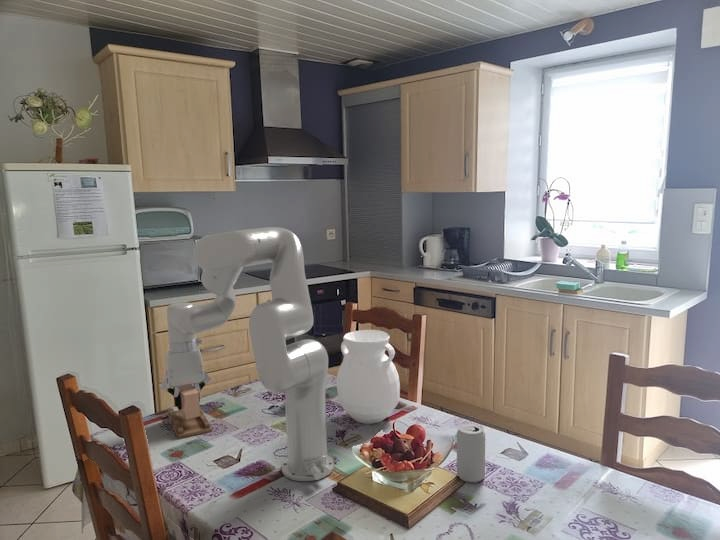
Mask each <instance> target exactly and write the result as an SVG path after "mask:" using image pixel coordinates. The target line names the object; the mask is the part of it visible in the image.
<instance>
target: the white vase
mask: <svg viewBox="0 0 720 540" xmlns="http://www.w3.org/2000/svg"><path fill="white" fill-rule="evenodd" d="M342 339H343V341H342V342H341V345H340V350H341V352H342V353H341V354H342V355H343V360H342V362H341V363H340V366H339V367H338V370H337V375H336V390H337V397H338V399H339V402H340V405H341V408H342V409H343V410H344V412H346V414H347V415H349V416H350V417H351V418H352V419H353V420H355V421H356V422H357V423H360V424H367V425H369V424H370V425H372V424H377V423H380V422H382V421H384V420H385V419H386V418H387V417H389V415H391V413H393V411H394V410H395V408H396V407H397V406H398V404H399V401H400V397H401V396H400V395H401V393H400V392H401V384H400V383H401V382H400V376H399V373H398V370H397V368H396V365H395V363H394V362H393V359H394V357H395V354H396V351H395V348H394V347H393V346H392V345H391V344H390V343H389V341H390V335H389V333H387V332H386V331H383V330H381V329H380V330H379V329H362V330H361V329H359V330H355V331H354V330H353V331H351V332H347V333H345V334H344V336H343V337H342ZM386 351H387V353H388V355H387V354H386Z"/></svg>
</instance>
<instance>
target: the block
mask: <svg viewBox="0 0 720 540" xmlns="http://www.w3.org/2000/svg"><path fill="white" fill-rule="evenodd" d="M199 394H200V393H199V392H198V391H197V390H196V389H195V388H194V385H193V384H190V385H185V386H180V388H179V395H180V397H181V410H180V412H181V413H182V414H183V416H184V417H185V419H190V418H194V417H199V416H200V409H201V406H200V404H201V403H200V402H199Z"/></svg>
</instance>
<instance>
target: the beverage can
mask: <svg viewBox="0 0 720 540" xmlns="http://www.w3.org/2000/svg"><path fill="white" fill-rule="evenodd" d="M484 430H485V429H484V427H483V426H482V425H480V424H478V423H473V422H471V423H469V422H467V423H462V424H460V425H459V426H458V430H457V431H456V475H457V477H458V476H459V477H460V478H459V479H460V480H462V481H464V482H465V483H471V484H474V483H479V482H481V481H483V479H484V478H485V477H486V433H485V431H484Z"/></svg>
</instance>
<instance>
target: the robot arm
mask: <svg viewBox="0 0 720 540" xmlns="http://www.w3.org/2000/svg"><path fill="white" fill-rule="evenodd" d="M193 258H194V261H195V263H196V265H197V266H198V267H199V268H201V270H203V272H202V274H201V278H200V279H201V284H202V286H203V287H204V288H205V289H206V290H207V291H209V292H210V293H212V294H215V295H216V296H215V297H214V300H212V301H211V302H206V303H201V304H196V305H194V304H193V303H191V302H187V301H185V302H184V301H183V302H182V301H181V302H173V303H171V304H169V305H168V306H167V307H166V320H167V331H168V343H169V344H168V345H169V347H168V348H169V350H167V351H166V356H165V357H166V358H165V378H164V379H163V380H162V382H161V384H160V386H159V387H160V389H161V390H162V391H164V392H166V393H167V392H168V393H169V394H170V395H172V396H173V399H174V407H175V408H177V411H178V410H181V397H180V395H179V388H180V386H185V385H190V384H192V385H193V387H194V388H195V389H196V390H197V391H198V392H199V403H201V397H200V395H201V394H200V393H201V391H202V390H203V388H204V387H205V386H206V385H207V384H208V383H210V381H211V380H212V379H211V376H209V374H208V373H206V371H205V370H204V369H205V367H204V362H203V357H202V352H201V349H200V347H199V345H203V341H202V338H201V339H198V338H197V334H200V333H204V332H206V331H207V332H208V331H210V330H215V329H218V328H220V327H222V326H224V325H225V324H226V323H227V322H228V321H229V319H230V317H231V316H232V314H233V312H234V310H235V308H236V302H237V301H236V300H237V299H236V298H237V296H236V292H235V289H234V286H235V284H236V283H237V280H238V279H239V277H240V275H241V273H242V270H243V269H244V268H246V267H252V266H257V265H264V264H267V263H270V264H272V268H271V271H270V274H269V286H270V293H271V297H272V298H271V300H268V301H267V300H266V301H264V302H261V303H259V304H258V305H256V306H255V307H254V308H253V310H252V311H251V313H250V316H249V320H248V331H249V336H250V342H251V346H252V351H253V355H254V360H255V361H254V362H255V366H256V371H257V374H258V377H259V380H260V382H261V385H262V386H263V387H264V389H265V390H267V391H268V392H270V393H272V394H282V393H285V399H284V401H285V403H284V404H285V409H284V410H285V424H286V425H285V429H286V431H285V432H286V445H287V446H286V447H287V450H286V451H287V452H286V453H287V458H285V459H284V460H283V461H282V464H281V473H282V475H284V477H286V478H287V479H289V480H292V481H296V482H313V481H318V480H321V479H323V478H325V477H327V476H328V475H330V474H331V473H332V472H333V471H334V468H335V461H334V459H333V458H332V456H330V455H328V439H327V437H328V436H327V411H326V410H327V408H326V407H327V406H326V405H327V404H326V387H327V386H326V385H327V376H328V371H329V370H328V369H329V355H328V351H327V350H326V348H325V346H324V345H323V344H322V343H321V342H320V341H318V340H315V339H301V340H298V341H296V342H292V343H288V344H287V343H286V342H287V340H289V339H293V338H296V337H298V336H301V335H303V334H305V333H308V332H309V331H310V330H311V329H312V327H313V326H314V312H313V306H312V302H311V297H310V292H309V286H308V282H307V278H306V272H305V260H304V259H305V258H304V251H303V246H302V243H301V241H300V239H299V237H298V236H297V235H296V234H295V233H294V232H292V231H291V230H289V229H288V228H287V229H286V228H284V227H280V226H279V227H275V226H274V227H273V226H269V227H267V226H265V227H258V228H248V229H241V230H240V229H239V230H238V229H237V230H231V231H226V232H221V233H215V234H206V235H204V236H202V237H201V238H199V239H198V241H197V242H196V244H195V245H194V250H193Z"/></svg>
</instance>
